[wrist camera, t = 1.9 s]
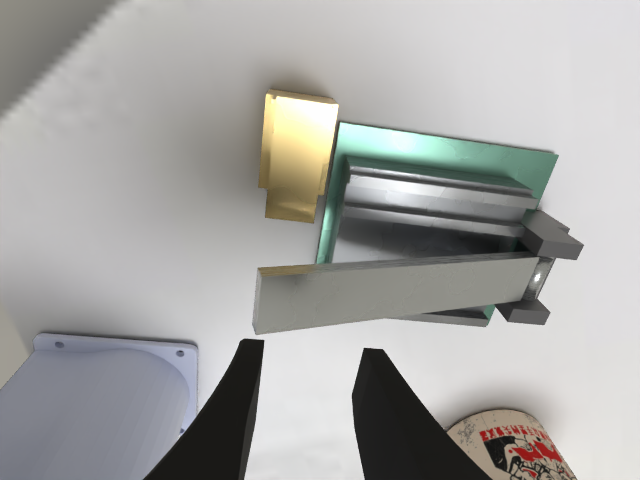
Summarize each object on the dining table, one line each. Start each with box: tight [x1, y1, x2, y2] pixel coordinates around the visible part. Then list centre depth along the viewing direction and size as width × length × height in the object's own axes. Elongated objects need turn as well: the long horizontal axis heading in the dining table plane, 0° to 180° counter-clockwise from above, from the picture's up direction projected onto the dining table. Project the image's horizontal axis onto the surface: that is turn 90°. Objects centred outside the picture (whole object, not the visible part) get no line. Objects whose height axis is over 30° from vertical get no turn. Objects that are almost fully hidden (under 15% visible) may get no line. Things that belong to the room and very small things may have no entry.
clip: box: [258, 89, 338, 223], centre depth 17 cm, size 3×5×5 cm, turn 171°
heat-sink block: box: [316, 122, 559, 327], centre depth 21 cm, size 12×11×3 cm
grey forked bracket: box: [495, 210, 584, 325], centre depth 20 cm, size 3×5×4 cm, turn 171°
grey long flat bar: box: [252, 251, 554, 335], centre depth 17 cm, size 15×2×1 cm, turn 81°
